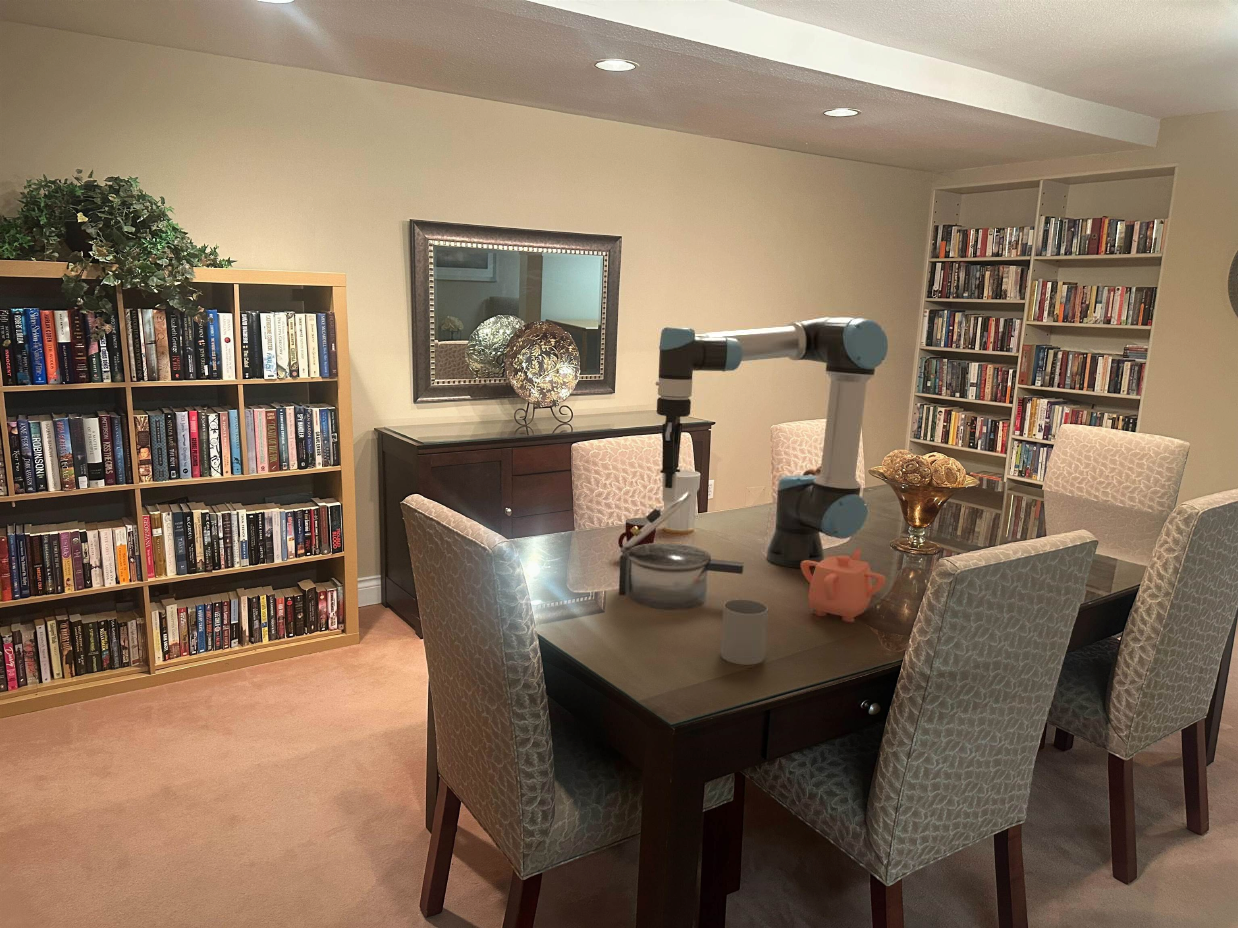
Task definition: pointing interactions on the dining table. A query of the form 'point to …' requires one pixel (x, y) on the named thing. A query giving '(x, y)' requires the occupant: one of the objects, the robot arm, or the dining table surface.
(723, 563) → the pot
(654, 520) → the lid
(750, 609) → the cup
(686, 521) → the cup
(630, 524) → the mug
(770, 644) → the dining table surface
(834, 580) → the teapot
